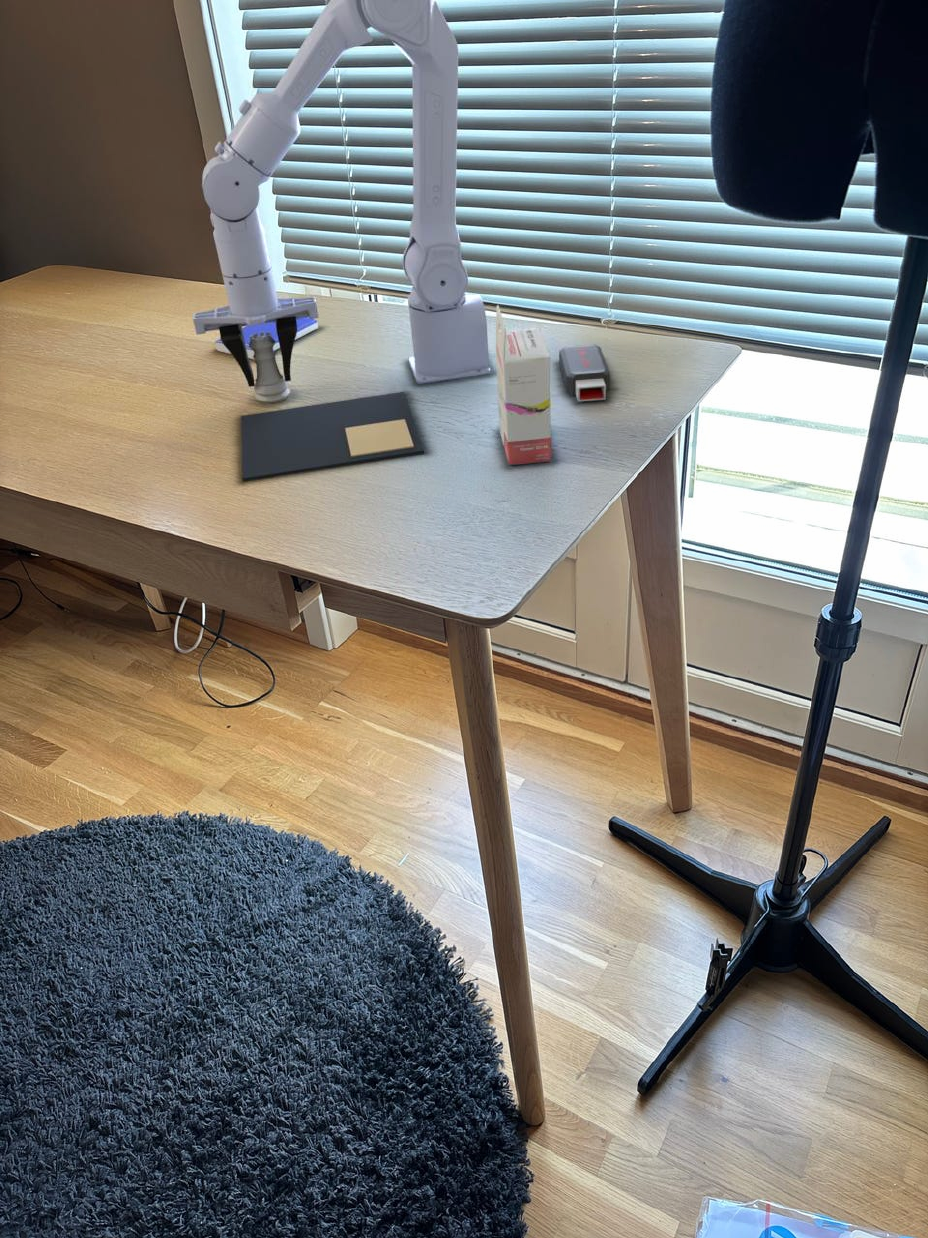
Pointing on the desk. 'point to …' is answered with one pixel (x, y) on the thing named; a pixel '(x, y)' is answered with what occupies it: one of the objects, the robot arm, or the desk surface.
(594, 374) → the usb drive
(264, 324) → the hard drive
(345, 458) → the desk pad
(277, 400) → the rook chess piece
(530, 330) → the ink cartridge box
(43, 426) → the desk surface
